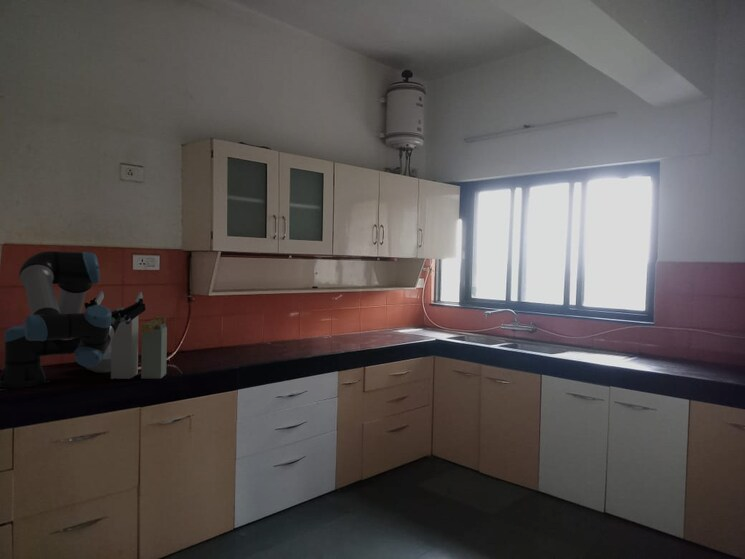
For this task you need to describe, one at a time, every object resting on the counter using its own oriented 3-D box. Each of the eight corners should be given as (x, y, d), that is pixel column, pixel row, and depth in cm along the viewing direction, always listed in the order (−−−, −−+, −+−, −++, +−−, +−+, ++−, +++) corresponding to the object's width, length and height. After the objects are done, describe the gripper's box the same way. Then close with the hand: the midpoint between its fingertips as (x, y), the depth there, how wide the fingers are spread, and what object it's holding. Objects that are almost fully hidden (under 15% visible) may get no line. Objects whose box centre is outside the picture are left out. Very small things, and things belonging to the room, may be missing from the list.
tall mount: (110, 378, 210) (111, 309, 209) (118, 373, 219) (119, 307, 218) (131, 378, 212) (132, 309, 211) (137, 373, 220) (138, 307, 219)
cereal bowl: (119, 365, 236) (119, 350, 236) (129, 372, 223) (130, 356, 223) (78, 369, 225) (78, 354, 224) (86, 377, 212) (87, 360, 212)
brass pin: (139, 334, 203) (139, 323, 203) (155, 326, 226) (155, 316, 225) (151, 334, 203) (151, 323, 203) (165, 326, 226) (165, 316, 226)
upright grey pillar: (141, 378, 212) (141, 325, 211) (147, 373, 221) (148, 323, 220) (160, 378, 213) (161, 326, 213) (166, 373, 222) (167, 323, 222)
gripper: (65, 338, 168) (87, 302, 186) (143, 338, 172) (158, 303, 190) (60, 320, 164) (83, 285, 182) (140, 321, 168) (156, 286, 186)
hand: (122, 294), depth 186 cm, fingers open, 13 cm apart
